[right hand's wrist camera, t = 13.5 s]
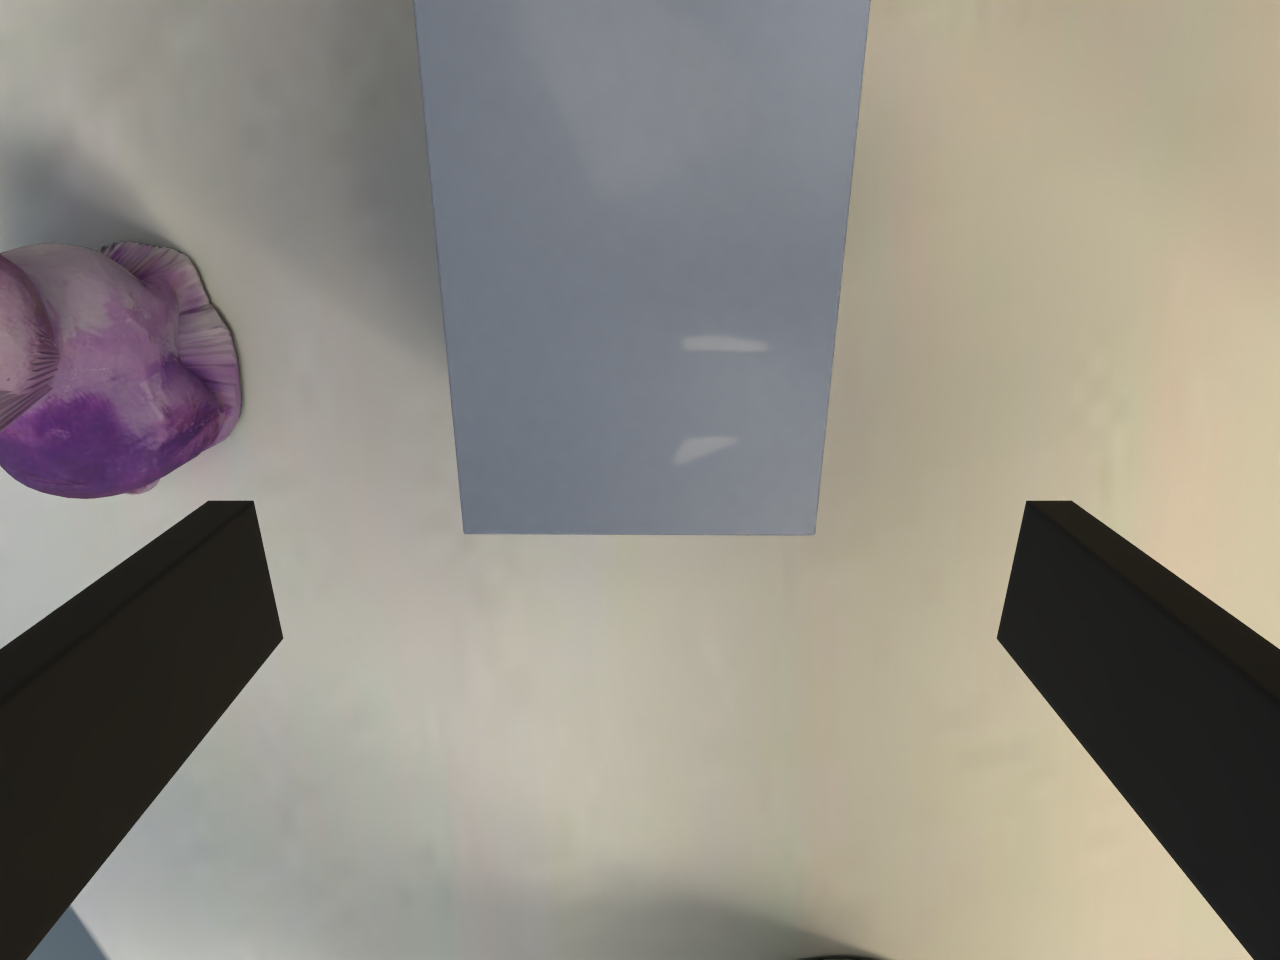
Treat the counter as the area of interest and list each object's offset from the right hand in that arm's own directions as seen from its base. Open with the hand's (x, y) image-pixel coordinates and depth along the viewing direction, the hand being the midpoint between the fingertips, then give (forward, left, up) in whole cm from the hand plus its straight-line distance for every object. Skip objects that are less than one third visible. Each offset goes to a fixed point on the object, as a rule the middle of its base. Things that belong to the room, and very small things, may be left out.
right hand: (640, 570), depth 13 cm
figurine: (+16, +14, -21) cm, 30 cm away
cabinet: (+3, -3, -21) cm, 21 cm away
